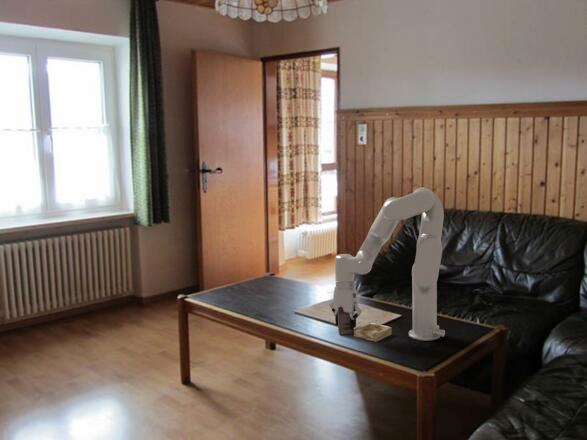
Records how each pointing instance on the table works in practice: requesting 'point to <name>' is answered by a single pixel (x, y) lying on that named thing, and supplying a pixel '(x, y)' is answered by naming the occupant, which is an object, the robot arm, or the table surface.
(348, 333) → the box
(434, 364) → the table surface
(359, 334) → the housing
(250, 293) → the table surface
